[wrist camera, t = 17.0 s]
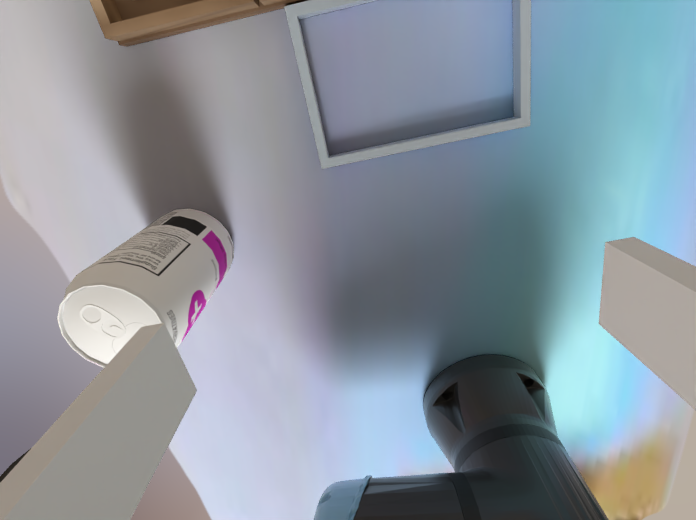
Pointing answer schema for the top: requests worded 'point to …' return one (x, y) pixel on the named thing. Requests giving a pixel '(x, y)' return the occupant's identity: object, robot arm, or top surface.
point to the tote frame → (323, 3)
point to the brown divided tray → (172, 16)
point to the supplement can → (146, 284)
